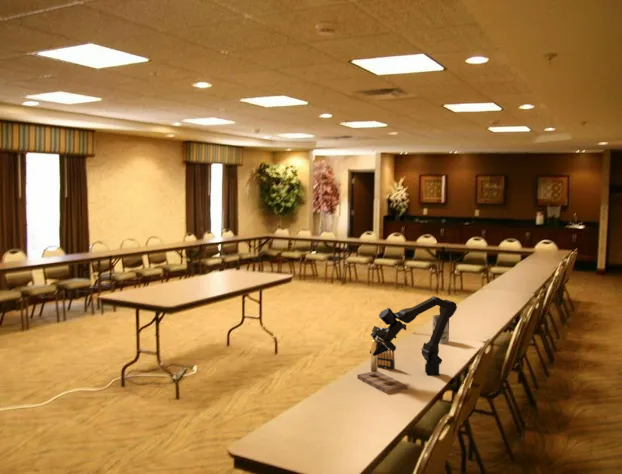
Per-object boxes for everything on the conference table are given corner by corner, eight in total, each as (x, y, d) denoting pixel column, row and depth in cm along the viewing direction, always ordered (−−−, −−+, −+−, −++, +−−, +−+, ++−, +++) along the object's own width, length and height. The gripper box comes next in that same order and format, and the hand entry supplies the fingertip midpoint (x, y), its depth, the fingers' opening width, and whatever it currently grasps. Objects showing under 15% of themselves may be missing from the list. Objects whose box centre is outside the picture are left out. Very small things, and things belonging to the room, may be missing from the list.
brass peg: (377, 370, 280) (377, 339, 278) (377, 372, 277) (378, 341, 275) (370, 369, 280) (371, 339, 279) (371, 372, 277) (371, 341, 275)
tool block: (357, 378, 281) (357, 374, 281) (376, 374, 287) (376, 370, 286) (386, 393, 260) (386, 389, 260) (406, 389, 266) (407, 385, 266)
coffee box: (449, 343, 347) (450, 317, 346) (440, 344, 344) (441, 318, 343) (439, 339, 355) (440, 314, 354) (431, 340, 353) (432, 315, 351)
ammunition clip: (374, 366, 300) (375, 344, 299) (375, 365, 302) (376, 343, 301) (393, 369, 295) (394, 347, 294) (394, 368, 297) (395, 346, 296)
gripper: (374, 316, 286) (354, 339, 284) (390, 324, 269) (369, 349, 266) (388, 330, 289) (368, 353, 287) (405, 339, 272) (383, 363, 269)
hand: (371, 354), depth 277 cm, fingers closed on brass peg, 3 cm apart
